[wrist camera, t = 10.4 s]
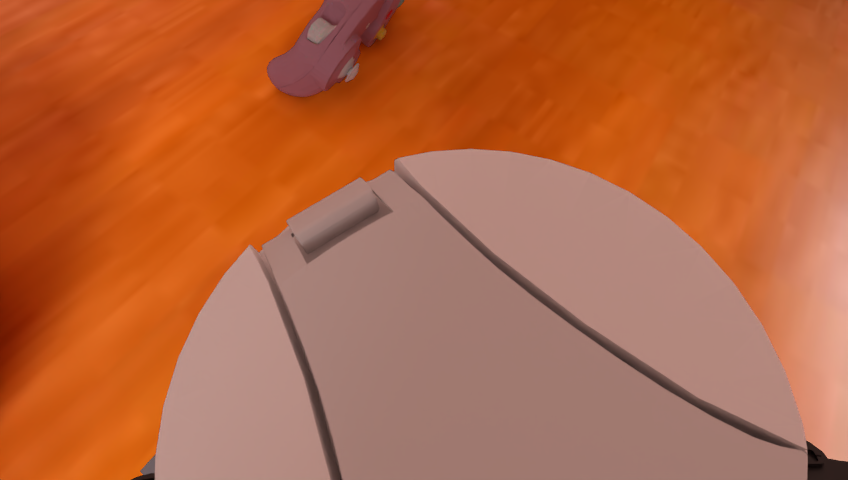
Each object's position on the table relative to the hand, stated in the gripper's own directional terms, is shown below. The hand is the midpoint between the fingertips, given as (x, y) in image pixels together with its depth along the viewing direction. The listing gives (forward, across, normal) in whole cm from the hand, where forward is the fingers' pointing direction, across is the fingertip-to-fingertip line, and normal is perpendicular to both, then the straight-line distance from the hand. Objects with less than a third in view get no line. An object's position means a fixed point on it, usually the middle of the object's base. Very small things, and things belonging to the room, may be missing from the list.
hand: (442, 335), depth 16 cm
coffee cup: (+2, 0, -6) cm, 7 cm away
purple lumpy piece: (+21, -3, +8) cm, 23 cm away
